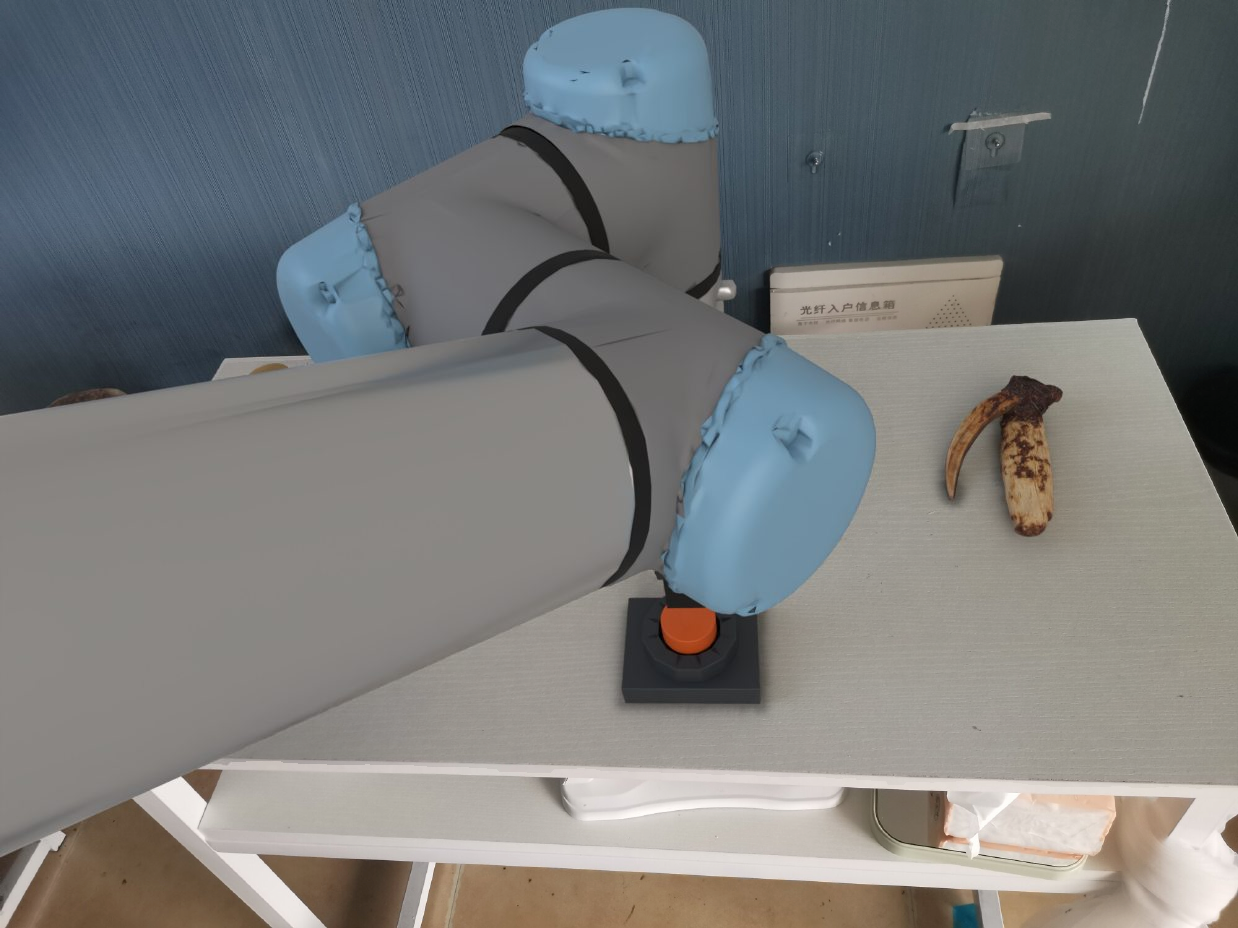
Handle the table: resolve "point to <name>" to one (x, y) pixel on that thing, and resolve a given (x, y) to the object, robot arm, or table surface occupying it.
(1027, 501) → the lashed bone hook
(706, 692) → the switch block
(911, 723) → the table surface
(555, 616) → the table surface
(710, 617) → the light button
